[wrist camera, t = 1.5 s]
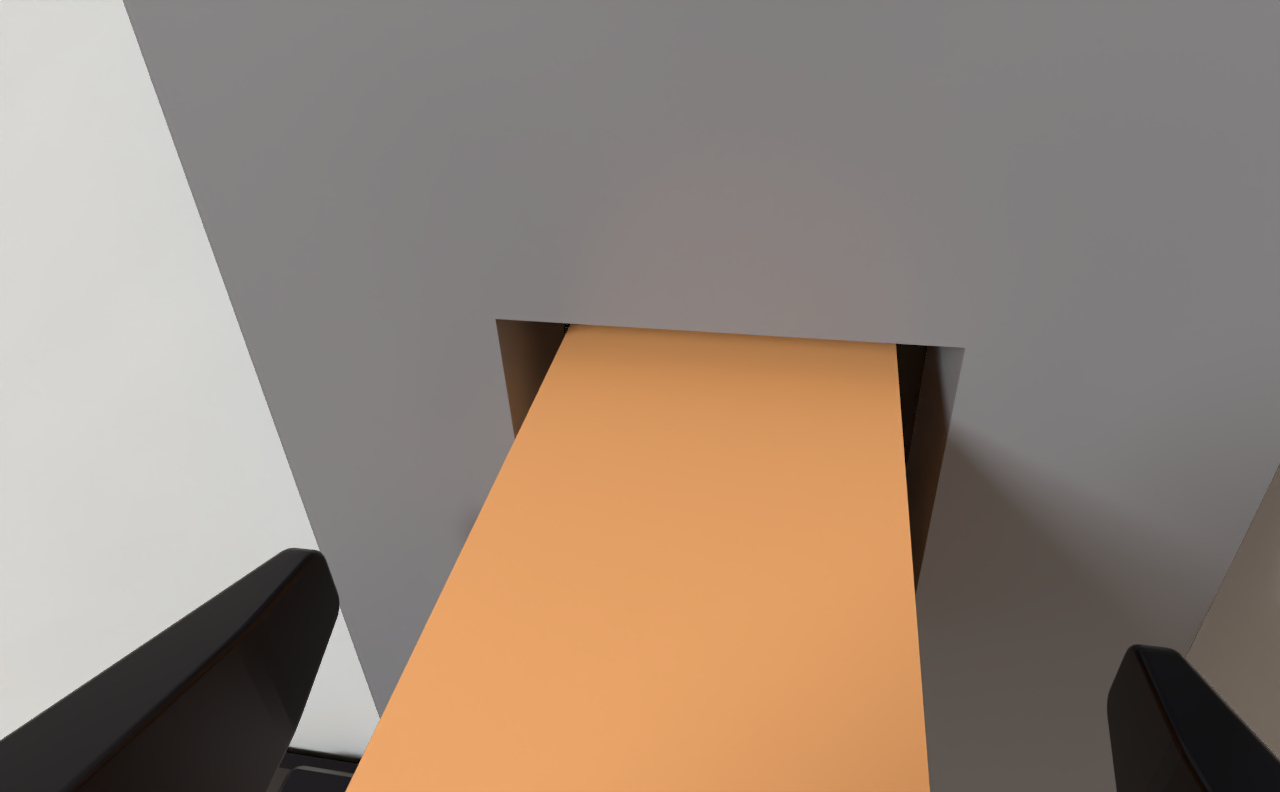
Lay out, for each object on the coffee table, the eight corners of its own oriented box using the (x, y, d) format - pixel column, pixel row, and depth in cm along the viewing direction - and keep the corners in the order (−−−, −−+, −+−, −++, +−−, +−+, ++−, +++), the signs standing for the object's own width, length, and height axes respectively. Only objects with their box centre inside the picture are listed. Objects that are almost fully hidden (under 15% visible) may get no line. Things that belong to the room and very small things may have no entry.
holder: (1045, 758, 17) (1070, 892, 15) (450, 676, 19) (403, 784, 17) (1458, -317, 8) (1672, -336, 6) (202, -242, 10) (37, -238, 8)
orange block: (860, 503, 14) (871, 1271, 7) (616, 480, 15) (400, 1156, 8) (891, 280, 12) (952, 1089, 5) (598, 265, 13) (268, 949, 5)
